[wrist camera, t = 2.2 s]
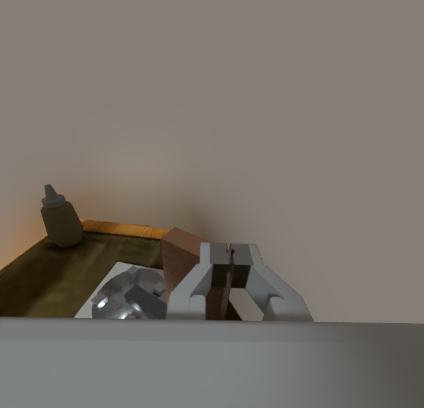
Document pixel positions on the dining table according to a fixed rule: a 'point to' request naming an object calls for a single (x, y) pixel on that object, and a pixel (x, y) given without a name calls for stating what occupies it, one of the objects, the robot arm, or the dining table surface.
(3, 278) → the dining table surface
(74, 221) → the squeeze bottle
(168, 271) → the silver brown l-shaped piece
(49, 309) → the dining table surface
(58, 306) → the dining table surface
